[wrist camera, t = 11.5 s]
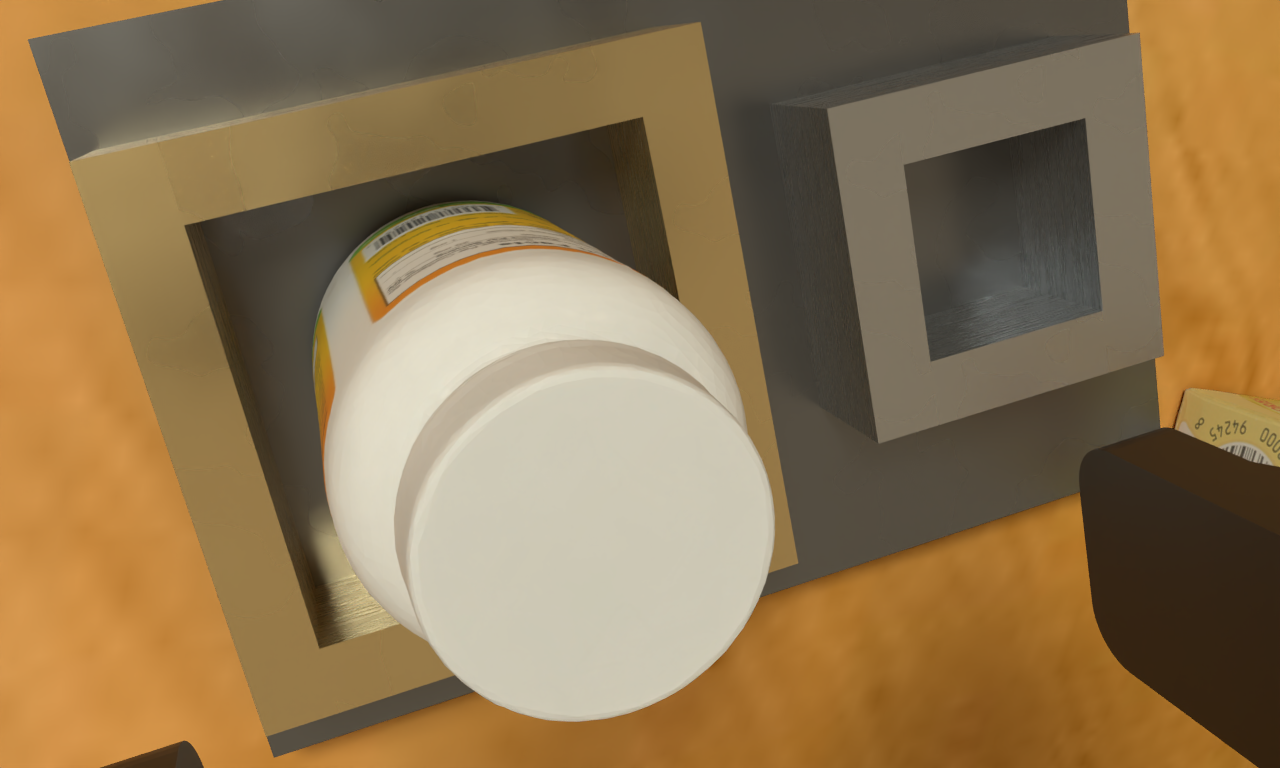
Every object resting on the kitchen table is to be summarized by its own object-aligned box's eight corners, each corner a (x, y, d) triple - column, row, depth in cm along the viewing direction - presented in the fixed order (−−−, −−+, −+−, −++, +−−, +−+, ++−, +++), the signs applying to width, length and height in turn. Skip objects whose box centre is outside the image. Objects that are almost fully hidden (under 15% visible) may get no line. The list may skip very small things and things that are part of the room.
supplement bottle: (516, 542, 23) (670, 855, 14) (250, 406, 21) (228, 668, 12) (669, 295, 23) (930, 453, 14) (414, 134, 21) (519, 192, 12)
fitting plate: (1064, -164, 24) (1208, -206, 20) (1119, 444, 28) (1247, 502, 24) (45, 41, 20) (-8, 35, 16) (274, 717, 24) (273, 837, 20)
